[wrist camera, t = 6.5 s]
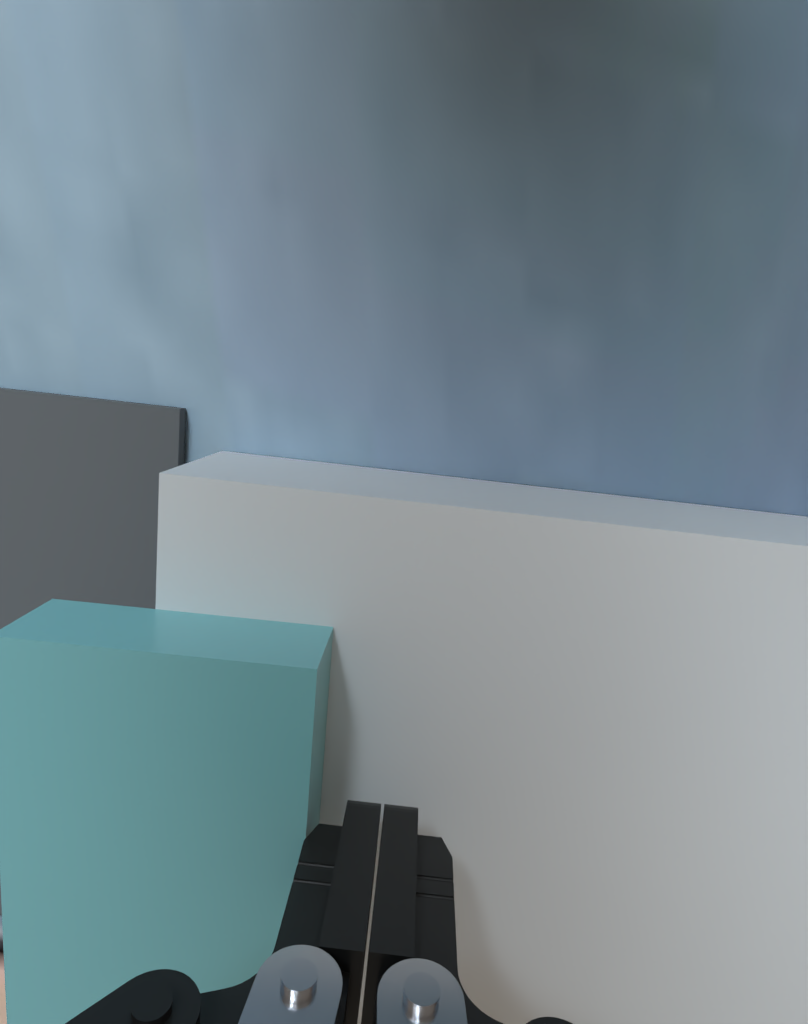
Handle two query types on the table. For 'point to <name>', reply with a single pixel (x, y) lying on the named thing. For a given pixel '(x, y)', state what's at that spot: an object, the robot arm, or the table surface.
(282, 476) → the plate
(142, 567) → the mat
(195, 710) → the teal rectangular box
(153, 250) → the table surface
